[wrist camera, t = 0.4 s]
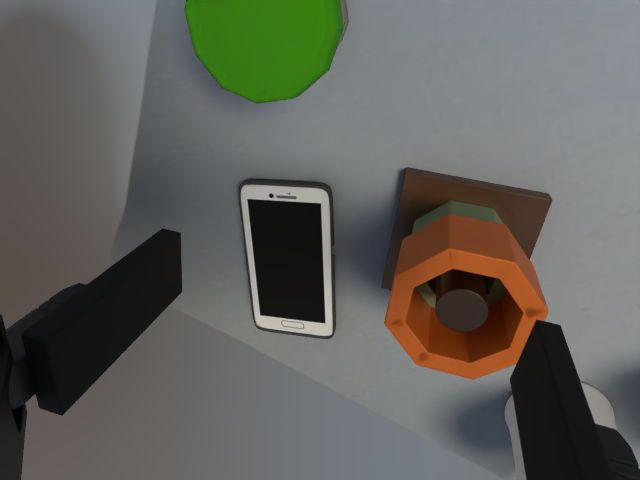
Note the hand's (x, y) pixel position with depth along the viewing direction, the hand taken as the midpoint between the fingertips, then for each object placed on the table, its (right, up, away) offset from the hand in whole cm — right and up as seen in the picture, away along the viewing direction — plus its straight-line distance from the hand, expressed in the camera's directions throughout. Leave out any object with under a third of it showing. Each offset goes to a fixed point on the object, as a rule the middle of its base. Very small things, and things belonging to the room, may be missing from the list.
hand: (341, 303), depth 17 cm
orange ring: (+9, 0, +14) cm, 16 cm away
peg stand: (+10, +2, +18) cm, 21 cm away
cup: (-1, +17, +14) cm, 22 cm away
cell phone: (-3, +1, +23) cm, 23 cm away
